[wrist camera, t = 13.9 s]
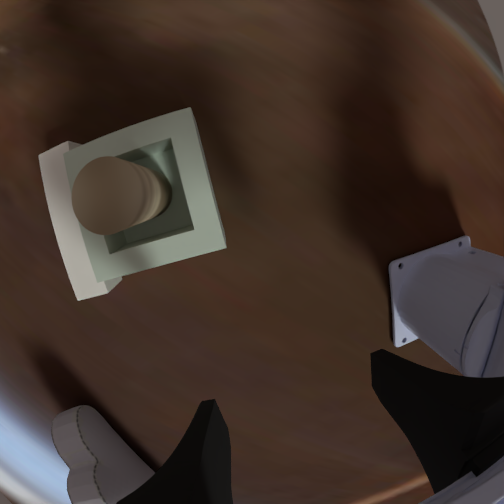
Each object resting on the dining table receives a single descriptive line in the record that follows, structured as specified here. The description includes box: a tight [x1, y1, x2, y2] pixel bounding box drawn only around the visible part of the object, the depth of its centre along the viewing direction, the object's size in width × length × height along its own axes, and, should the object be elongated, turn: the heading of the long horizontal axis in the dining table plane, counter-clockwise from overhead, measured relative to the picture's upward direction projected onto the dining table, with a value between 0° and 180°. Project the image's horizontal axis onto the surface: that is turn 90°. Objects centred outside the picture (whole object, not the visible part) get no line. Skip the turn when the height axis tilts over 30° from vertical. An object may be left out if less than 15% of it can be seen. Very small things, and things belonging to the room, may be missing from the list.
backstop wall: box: [38, 141, 122, 301], centre depth 17 cm, size 2×10×3 cm, turn 14°
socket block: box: [63, 107, 226, 283], centre depth 17 cm, size 8×8×4 cm
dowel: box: [71, 156, 172, 235], centre depth 15 cm, size 3×3×8 cm
